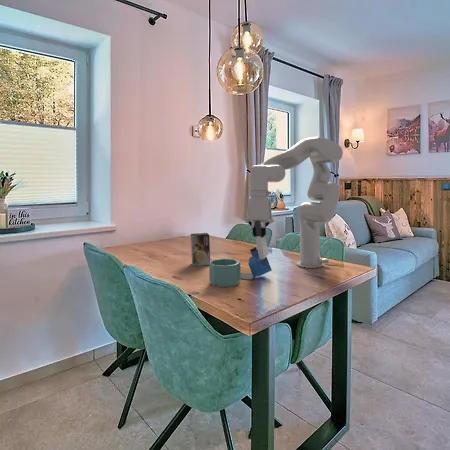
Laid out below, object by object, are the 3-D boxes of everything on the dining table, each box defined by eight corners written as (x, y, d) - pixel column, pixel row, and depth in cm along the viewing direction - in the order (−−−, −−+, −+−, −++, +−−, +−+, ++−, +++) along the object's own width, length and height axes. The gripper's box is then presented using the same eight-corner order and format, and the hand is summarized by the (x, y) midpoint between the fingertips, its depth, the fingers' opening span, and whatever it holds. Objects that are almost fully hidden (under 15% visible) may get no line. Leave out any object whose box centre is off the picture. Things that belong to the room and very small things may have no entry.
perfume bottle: (261, 275, 150) (251, 249, 150) (253, 277, 155) (243, 251, 156) (271, 270, 153) (262, 244, 154) (263, 272, 158) (253, 247, 159)
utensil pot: (243, 279, 152) (242, 259, 151) (234, 288, 141) (233, 266, 140) (216, 277, 156) (216, 258, 155) (206, 285, 145) (205, 264, 144)
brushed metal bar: (268, 254, 157) (261, 215, 155) (264, 259, 149) (257, 217, 147) (263, 254, 158) (256, 215, 156) (259, 259, 149) (251, 218, 148)
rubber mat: (257, 274, 160) (257, 273, 160) (251, 280, 151) (251, 279, 151) (232, 272, 164) (232, 272, 164) (225, 278, 155) (225, 277, 155)
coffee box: (208, 262, 186) (207, 232, 183) (210, 265, 179) (209, 234, 177) (191, 263, 184) (190, 233, 182) (192, 266, 178) (191, 235, 175)
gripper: (279, 194, 150) (279, 236, 153) (243, 193, 156) (243, 234, 158) (276, 194, 143) (276, 238, 146) (238, 194, 149) (238, 237, 151)
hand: (259, 236), depth 152 cm, fingers closed on brushed metal bar, 2 cm apart
